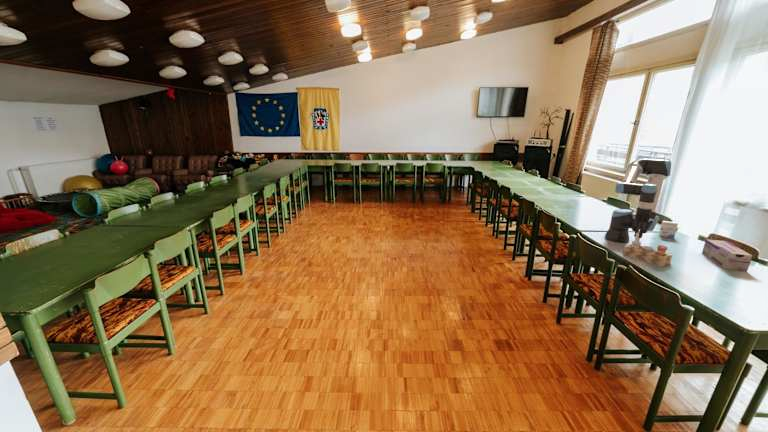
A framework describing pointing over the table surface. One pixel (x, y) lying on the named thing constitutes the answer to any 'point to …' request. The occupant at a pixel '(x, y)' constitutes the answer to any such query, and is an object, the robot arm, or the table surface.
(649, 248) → the grey plunger middle
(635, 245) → the grey plunger near
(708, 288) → the table surface
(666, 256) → the press block
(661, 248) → the terracotta plunger
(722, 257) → the surgical sutures box
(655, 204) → the robot arm
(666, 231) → the ink box
